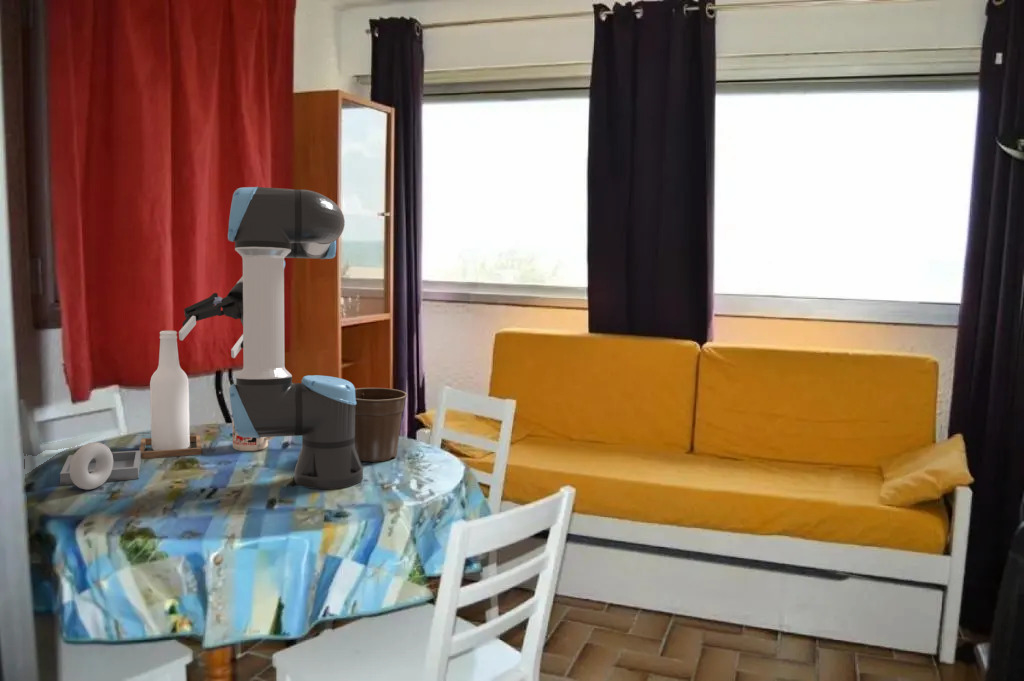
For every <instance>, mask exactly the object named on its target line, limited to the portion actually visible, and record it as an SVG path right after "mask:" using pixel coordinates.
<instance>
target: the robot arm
mask: <svg viewBox="0 0 1024 681" xmlns="http://www.w3.org/2000/svg"><path fill="white" fill-rule="evenodd" d="M229 211H230V212H229V218H228V229H227V231H228V232H227V241H229V242H231V243H234V251H235V252H237V253H238V254H239V255H240V256H241V259H242V276H241V277H240V278H239V280H238V281H237V282H236V284H235V285H234V286H233V287H232V288H231V289H230V290H229V292H228V294H227V295H226V296H225V297H222V296H219V295H218V294H219V293H217V292H214V293H212V294H211V295H210V296H209V297H207V298H203V300H201V301H199V302H195V303H193V304H192V305H190V306H187V307H185V308H184V309H183V310H184V311H183V313H184V317H185V320H183V322H182V327H181V329H180V330H179V331H178V339H179V341H184V339H185V338H186V337H187V336H188V335H189V333H190V332H192V330H193V328H194V327H195V326H196V325H197V322H198V321H201V320H206V319H208V318H209V319H210V318H212V317H216V316H218V317H222V316H225V317H228V318H229V317H230V318H232V319H234V320H239V319H240V323H241V324H242V327H243V328H242V330H243V331H242V334H241V336H240V337H239V338H238V340H237V341H236V343H234V345H233V347H232V348H231V349H230V351H231V352H230V354H231V358H232V359H236V357H237V356H238V354H239V353H240V351H241V350H243V351H242V352H243V353H242V354H243V360H242V361H243V367H242V369H241V371H240V372H238V374H237V375H236V377H235V381H236V383H232V384H230V385H229V386H228V387H229V390H228V391H229V392H228V393H229V402H230V409H231V415H232V416H233V422H234V427H235V431H236V433H237V434H238V435H239V436H241V437H251V438H260V437H274V438H276V437H295V436H296V437H298V436H302V438H301V439H302V440H301V441H302V443H301V444H302V445H301V450H300V454H299V455H298V459H297V462H296V465H295V468H294V471H293V472H294V473H293V474H294V476H293V477H294V478H293V480H294V482H295V484H296V485H298V486H300V487H304V488H309V489H316V490H330V489H332V490H333V489H341V488H342V489H343V488H346V487H351V486H353V485H358V483H360V482H361V481H362V480H363V478H364V475H363V474H364V471H363V470H364V469H363V468H364V467H363V465H362V461H361V460H360V458H359V455H358V452H357V449H356V446H355V405H356V398H355V389H356V387H355V385H354V384H353V383H352V382H351V381H349V380H347V379H344V378H340V377H335V376H330V375H321V374H320V375H319V374H316V375H311V374H310V375H305V376H303V377H302V379H301V380H300V381H301V382H299V383H298V382H296V383H293V380H292V379H293V375H292V373H290V372H289V371H288V369H286V367H285V359H286V358H285V355H286V354H285V350H286V349H285V268H286V260H285V258H287V259H291V258H292V259H314V260H315V259H317V260H318V259H320V260H325V259H329V260H331V259H334V258H335V257H336V255H337V254H336V253H337V240H338V239H339V238H340V237H341V236H342V233H343V232H344V229H345V223H346V222H345V216H344V214H343V211H342V210H341V208H340V207H339V206H338V205H337V203H335V201H333V200H332V199H330V198H329V197H328V196H325V195H324V194H321V193H319V192H316V191H313V190H309V189H291V188H277V187H266V186H265V187H263V186H254V187H253V186H247V187H246V186H245V187H239V188H236V190H234V192H233V194H232V199H231V205H230V210H229Z"/></svg>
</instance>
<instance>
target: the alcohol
mask: <svg viewBox="0 0 1024 681" xmlns="http://www.w3.org/2000/svg"><path fill="white" fill-rule="evenodd" d="M177 334H178V332H177V331H176V330H171V329H170V330H161V331H160V332H159V339H160V340H159V354H158V365H157V369H156V370H155V371H154V372H153V374H152V375H151V377H150V382H149V389H150V390H149V391H150V392H149V397H150V431H151V433H150V434H151V437H150V438H151V439H152V445H151V449H152V451H158V450H173V449H187V448H190V444H191V442H190V436H191V435H190V388H189V386H190V385H189V384H190V383H189V377H188V375H187V373H186V372H185V370H183V369H182V367H181V365H180V359H179V349H178V340H177V339H178V335H177Z"/></svg>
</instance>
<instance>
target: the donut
mask: <svg viewBox="0 0 1024 681" xmlns="http://www.w3.org/2000/svg"><path fill="white" fill-rule="evenodd" d="M111 452H112V451H111V449H110V448H109V446H107V445H106V444H104V443H101V442H98V441H97V442H95V441H94V442H88V443H86V444H84V445H82V446H80V447H79V449H77V450H76V452H74V454H73V455H74V456H73V458H72V460H71V463H70V470H69V472H70V478H71V479H72V481H73V483H74V484H73V485H75V486H77V487H78V488H79V489H83V490H86V491H89V490H95V489H97V488H99V487H101V486H103V485H104V483H105V482H107V481H106V480H107V479H108V477H109V476H110V474H111V471H112V468H113V455H112V453H111ZM93 458H95V460H96V466H95V469H94V470H93V472H92V473H90V474H89V472H88V465H89V462H90V461H91V460H92V459H93Z"/></svg>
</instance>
